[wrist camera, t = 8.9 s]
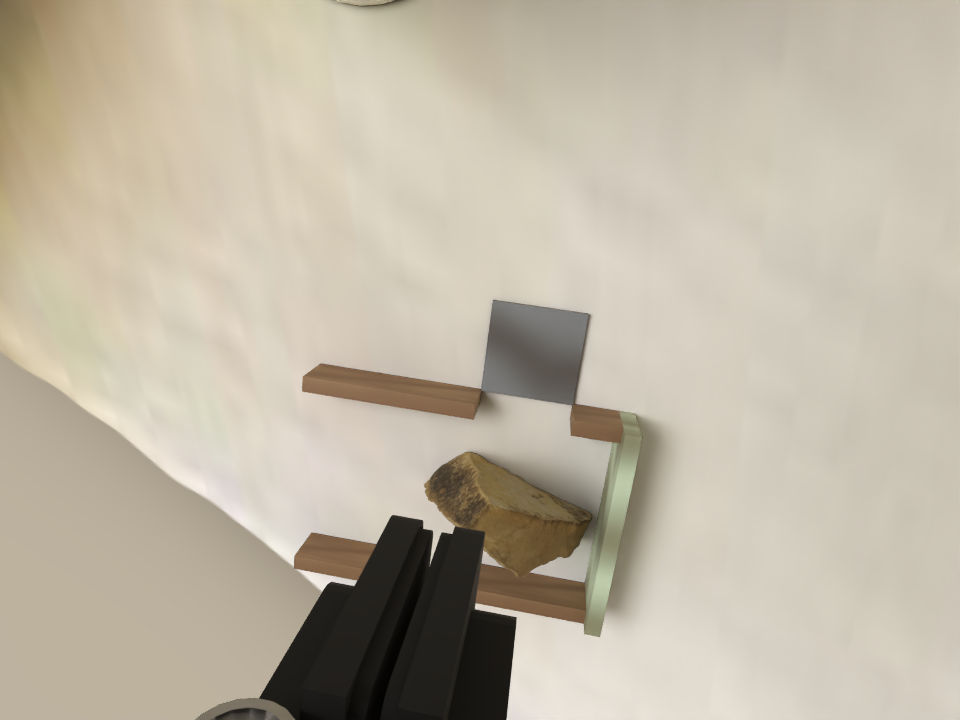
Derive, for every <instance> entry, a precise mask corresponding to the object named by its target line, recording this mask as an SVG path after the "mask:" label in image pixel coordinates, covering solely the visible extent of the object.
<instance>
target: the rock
mask: <svg viewBox="0 0 960 720" xmlns="http://www.w3.org/2000/svg"><path fill="white" fill-rule="evenodd" d="M424 487H425V488H426V490H425V493H426V495H427V497H428V500H430V501H431V502H434V503H435V504H436V505H437V507H438V509H439V511H441V512H442V514H443V515H444V516H445V517H446V518H447V519H448V520H449V521H450V522H451V523H453V525H455V526H457V527H462V528H468V529H473V530H479V531H485V540H484V547H483V550H484V551H485V552H487V553H488V554H489V556H491V557H492V558H494V559H495V560H496V562H497V563H498V564H500V565H501V566H503V567H504V568H506V569H509V570H511V571H512V572H513V573H514V574H515V576H517V577H520V578H521V577H525V576H526V575H527V574H528V573H529V572H530V571H531V570H533V569H534V568H536V567H538V566H540V565H544V564H546V563H548V562H549V561H552V560H554V559H556V558H557V557H563V558H567V557H569V556H570V555H571V554H572V553H573V551H574V549H576V547H578V546H579V544H580V542H581V539H582V537H583V535H584V532H585V530H586V528H587V526H588V524H589V523H590V521H591V519H592V515H591V514H590V513H588V512H587V511H585V510H583V509H581V508H579V507H577V506H575V505H572V504H570V503H568V502H565V501H562V500H560V499H558V498H556V497H554V496H553V495H550V494H549V493H547V492H545V491H542V490H540V489H538V488H536V487H534V486H532V485H530V484H528V483H526V482H525V481H524V480H523V479H522V478H520V477H518V476H516V475H514V474H511V473H510V472H508V471H507V470H506V469H504V468H501V467H499V466H496V465H494V464H491V463H489V462H487V461H486V460H485V459H484V458H483V457H481V456H479V455H477V454H475V453H471V452H465V453H464V454H462V455H460V456H458V457H456V458H454V459H452V460H451V461H449V462H448V463H446V464H444V465H442V466H441V467H440V468H439V469H438V470H437V471H436V472H435V473H434V474H433V475H432V477H431V478H430V480H429V481H428V482H427V483H425V484H424Z"/></svg>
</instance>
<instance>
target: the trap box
mask: <svg viewBox="0 0 960 720" xmlns="http://www.w3.org/2000/svg"><path fill="white" fill-rule="evenodd" d="M588 316H589V314H587V313H580V312H573V311H566V310H559V309H552V308H546V307H539V306H532V305H525V304H518V303H511V302H505V301H498V300H493V304H492V311H491V319H490V327H489V334H488V342H487V349H486V357H485V365H484V372H483V380H482V387H481V389H477V388H470V387H464V386H458V385H452V384H445V383H439V382H433V381H426V380H420V379H414V378H408V377H401V376H395V375H389V374H383V373H376V372H370V371H364V370H357V369H351V368H345V367H339V366H332V365H326V364H320V365H318V366H317V367H315V368H314V369H313V370H311V371H310V372H308V373H307V374H306V375H304V376H303V384H302V391H303V392H309V393H315V394H321V395H327V396H333V397H339V398H345V399H351V400H357V401H363V402H370V403H376V404H382V405H388V406H394V407H400V408H406V409H412V410H418V411H424V412H431V413H437V414H443V415H449V416H455V417H461V418H467V419H473V420H474V417H475V415H476V412H477V409H478V407H479V404H480V398H481V391H486V392H492V393H499V394H505V395H511V396H517V397H524V398H530V399H536V400H542V401H549V402H555V403H561V404H567V405H572V410H571V416H570V427H571V436H577V437H583V438H589V439H595V440H601V441H607V442H613V444H612V449H611V454H610V459H609V464H608V469H607V474H606V479H605V484H604V489H603V494H602V499H601V504H600V509H599V514H598V519H597V524H596V529H595V534H594V539H593V544H592V549H591V554H590V559H589V564H588V569H587V574H586V579H585V583H581V582H576V581H571V580H565V579H560V578H554V577H549V576H544V575H538V574H533V573H528V574H527V575H526V576H525V577H521V578H520V577H517V576H515V574H514V573H513V572H512V571H511V570H509V569H506V568H500V567H495V566H489V565H484V564H481V568H480V575H479V582H478V589H477V596H476V603H478V604H483V605H489V606H494V607H499V608H504V609H510V610H515V611H520V612H525V613H531V614H536V615H541V616H546V617H552V618H557V619H562V620H567V621H573V622H578V623H583V624H584V634H587V635H592V636H597V637H600V634H601V629H602V625H603V620H604V615H605V611H606V606H607V601H608V597H609V592H610V587H611V583H612V578H613V573H614V569H615V564H616V559H617V555H618V550H619V545H620V541H621V536H622V531H623V527H624V522H625V517H626V513H627V508H628V503H629V499H630V494H631V489H632V485H633V480H634V475H635V471H636V466H637V461H638V457H639V452H640V447H641V443H642V438H643V437H642V434H641V431H640V428H639V425H638V422H637V419H636V416H635V414H633V413H627V412H621V411H615V410H608V409H602V408H596V407H590V406H583V405H577V404H573V401H574V395H575V390H576V384H577V378H578V373H579V367H580V361H581V356H582V350H583V345H584V339H585V333H586V328H587V322H588ZM375 546H376V544H370V543H365V542H360V541H354V540H349V539H343V538H338V537H332V536H327V535H322V534H316V533H311V534H310V536H309V537H308V538H307V540H306V541H305V542H304V544H303V545H302V546H301V548H300V549H299V551H298V552H297V553H296V555H295V558H294V569H300V570H305V571H310V572H315V573H321V574H326V575H331V576H336V577H342V578H347V579H352V580H357V581H358V579H359V577H360V575H361V573H362V571H363V569H364V567H365V565H366V563H367V561H368V560H369V558H370V556H371V554H372V552H373V550H374V548H375Z"/></svg>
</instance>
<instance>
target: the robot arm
mask: <svg viewBox="0 0 960 720" xmlns="http://www.w3.org/2000/svg"><path fill="white" fill-rule="evenodd" d="M335 1H338V2H341V3H347V4H354V5H360V6H362V5H379V4H384V3H388V2H391V1H395V0H335ZM432 540H433V531H432V530H426V529H423V520H418V519H412V518H407V517H401V516H396V515H392V516H391V518H390V519H389V521H388V523H387V525H386V527H385V529H384V531H383V533H382V535H381V537H380V538H379V540H378V542H377V544H376V546H375V548H374V550H373V552H372V554H371V556H370V558H369V560H368V561H367V563H366V565H365V567H364V569H363V571H362V573H361V575H360V577H359V579H358V581H357V582H356V584H355V586H350V585H345V584H340V583H334V582H331V583H329V584H328V585H327V586H326V587H325V589H324V590H323V592H322V594H321V595H320V597H319V599H318V600H317V602H316V604H315V605H314V607H313V609H312V610H311V612H310V614H309V615H308V617H307V619H306V620H305V622H304V624H303V626H302V627H301V629H300V631H299V632H298V634H297V635H296V637H295V639H294V641H293V642H292V644H291V646H290V647H289V649H288V651H287V652H286V654H285V656H284V657H283V659H282V661H281V662H280V664H279V666H278V667H277V669H276V671H275V672H274V674H273V676H272V678H271V679H270V681H269V683H268V684H267V686H266V688H265V689H264V691H263V693H262V694H261V696H260V698H259V699H258V698H248V699H237V700H233V701H230V702H226V703H223V704H219V705H218V706H216V707H214V708H212V709H210V710H208V711H207V712H205V713H203V714H201V715H200V716H199V717H198V718H197V719H196V720H506V718H507V708H508V698H509V689H510V679H511V669H512V659H513V650H514V640H515V630H516V617H512V616H506V615H501V614H496V613H491V612H486V611H480V610H475V603H476V596H477V589H478V582H479V575H480V568H481V561H482V554H483V547H484V540H485V531H479V530H473V529H468V528H462V527H457V526H455V528H454V531H453V534H448V533H443V532H442V533H441V536H440V538H439V541H438V544H437V547H436V550H435V553H434V556H433V558H432V561H431V564H430V557H431V549H432ZM429 566H430V567H429Z"/></svg>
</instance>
